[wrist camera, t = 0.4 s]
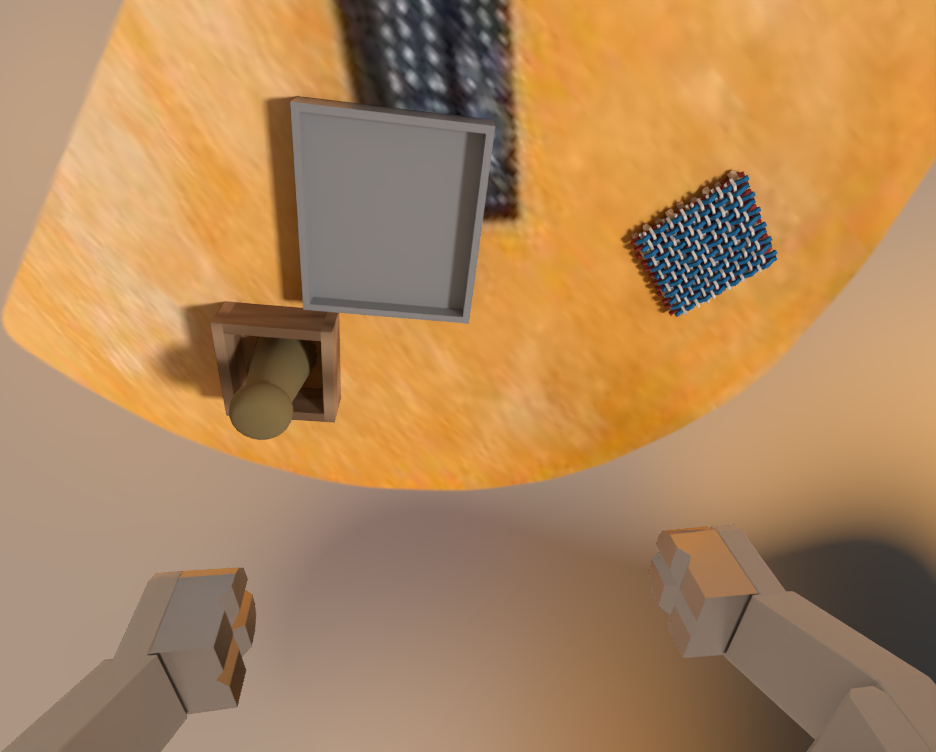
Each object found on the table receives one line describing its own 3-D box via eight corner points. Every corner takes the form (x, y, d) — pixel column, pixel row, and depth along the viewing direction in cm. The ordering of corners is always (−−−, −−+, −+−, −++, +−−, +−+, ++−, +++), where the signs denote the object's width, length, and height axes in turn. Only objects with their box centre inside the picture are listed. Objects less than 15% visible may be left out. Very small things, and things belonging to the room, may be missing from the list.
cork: (243, 355, 54) (204, 426, 45) (276, 315, 52) (242, 382, 43) (295, 387, 57) (268, 461, 48) (329, 350, 54) (307, 421, 46)
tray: (297, 96, 41) (290, 101, 39) (492, 119, 43) (495, 126, 41) (308, 296, 51) (303, 309, 49) (467, 310, 52) (468, 323, 50)
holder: (225, 301, 51) (210, 322, 48) (338, 311, 52) (331, 332, 49) (238, 391, 57) (226, 415, 54) (340, 398, 58) (334, 422, 55)
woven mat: (622, 232, 49) (628, 241, 47) (736, 162, 46) (747, 168, 44) (667, 315, 54) (674, 325, 53) (772, 257, 51) (783, 266, 49)
